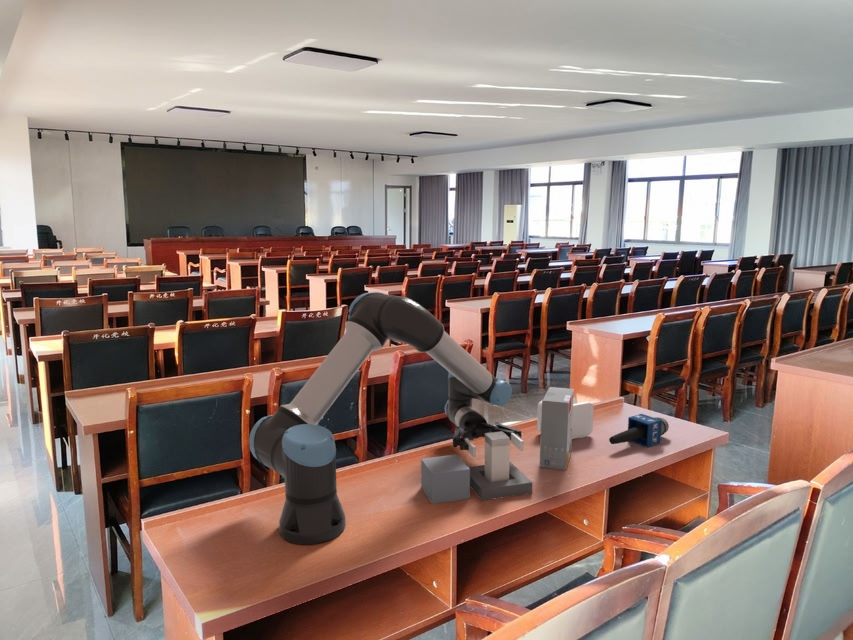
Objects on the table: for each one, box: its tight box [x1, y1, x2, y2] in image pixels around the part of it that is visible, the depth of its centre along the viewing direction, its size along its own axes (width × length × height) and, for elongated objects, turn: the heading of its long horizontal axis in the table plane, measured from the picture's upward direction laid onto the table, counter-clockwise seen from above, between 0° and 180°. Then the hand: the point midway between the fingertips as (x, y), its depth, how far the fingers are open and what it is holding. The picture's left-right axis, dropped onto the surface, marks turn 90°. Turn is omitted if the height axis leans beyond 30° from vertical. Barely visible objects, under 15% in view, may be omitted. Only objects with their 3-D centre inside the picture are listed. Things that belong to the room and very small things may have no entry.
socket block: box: [468, 461, 533, 501], centre depth 163 cm, size 14×14×3 cm
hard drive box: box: [538, 386, 575, 471], centre depth 179 cm, size 16×8×20 cm, turn 161°
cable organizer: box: [536, 396, 594, 440], centre depth 199 cm, size 15×11×12 cm
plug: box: [484, 431, 511, 482], centre depth 162 cm, size 5×5×14 cm
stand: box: [420, 453, 471, 505], centre depth 159 cm, size 10×10×8 cm
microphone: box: [608, 413, 670, 449], centre depth 191 cm, size 8×8×25 cm
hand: (498, 449), depth 162 cm, fingers open, 13 cm apart
